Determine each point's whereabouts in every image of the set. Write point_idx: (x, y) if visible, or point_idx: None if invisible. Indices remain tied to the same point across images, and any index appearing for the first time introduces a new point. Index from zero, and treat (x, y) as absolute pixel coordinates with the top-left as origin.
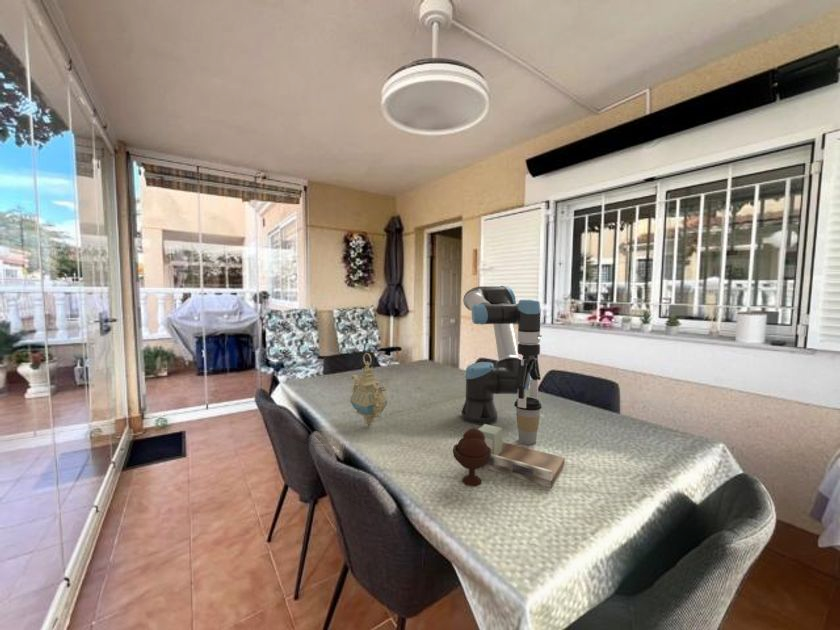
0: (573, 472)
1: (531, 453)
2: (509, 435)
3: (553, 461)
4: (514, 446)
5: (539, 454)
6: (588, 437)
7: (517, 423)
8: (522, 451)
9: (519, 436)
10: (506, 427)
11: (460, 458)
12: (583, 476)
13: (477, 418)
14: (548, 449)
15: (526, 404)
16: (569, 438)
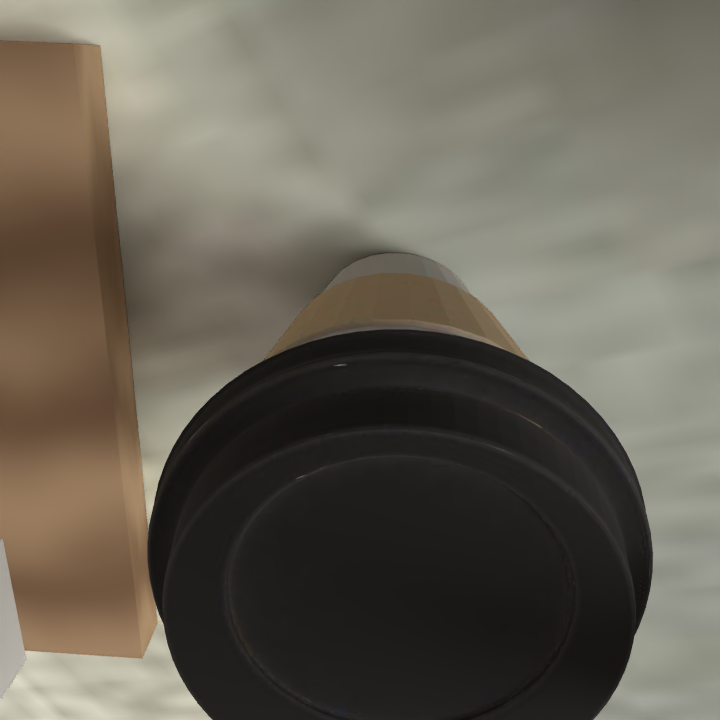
0: (82, 673)
1: (42, 463)
2: (440, 125)
3: (32, 610)
4: (71, 307)
5: (70, 516)
6: (703, 707)
7: (317, 304)
8: (27, 394)
9: (331, 283)
10: (668, 7)
11: None
12: (74, 715)
13: None
14: None
15: (172, 644)
16: None
